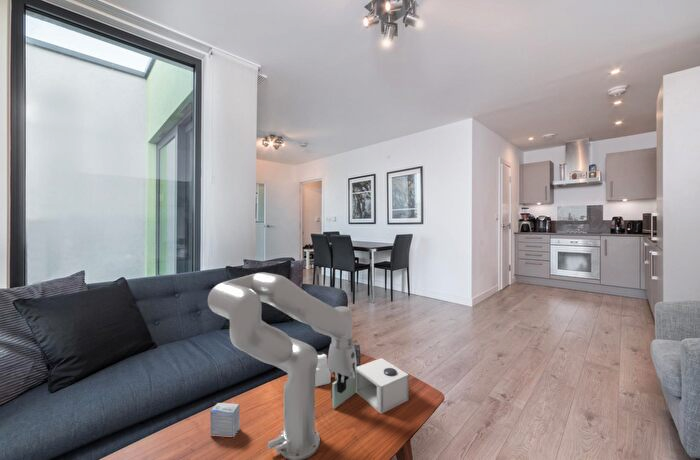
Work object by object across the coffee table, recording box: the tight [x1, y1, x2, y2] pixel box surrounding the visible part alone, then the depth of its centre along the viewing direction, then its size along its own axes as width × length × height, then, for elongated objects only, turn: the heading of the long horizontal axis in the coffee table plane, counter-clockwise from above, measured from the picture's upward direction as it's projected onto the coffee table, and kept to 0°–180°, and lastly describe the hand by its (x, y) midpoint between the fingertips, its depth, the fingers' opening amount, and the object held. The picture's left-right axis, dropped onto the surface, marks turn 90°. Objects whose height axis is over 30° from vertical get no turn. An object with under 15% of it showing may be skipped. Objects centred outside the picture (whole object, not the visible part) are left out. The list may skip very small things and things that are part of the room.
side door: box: [330, 371, 357, 409], centre depth 108 cm, size 2×13×9 cm, turn 141°
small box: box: [354, 344, 361, 367], centre depth 131 cm, size 11×6×10 cm, turn 91°
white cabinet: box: [355, 357, 410, 414], centre depth 111 cm, size 14×16×11 cm
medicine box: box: [209, 402, 241, 438], centre depth 91 cm, size 8×4×9 cm, turn 84°
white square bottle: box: [315, 351, 332, 388], centre depth 121 cm, size 7×7×12 cm
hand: (341, 390), depth 102 cm, fingers closed
